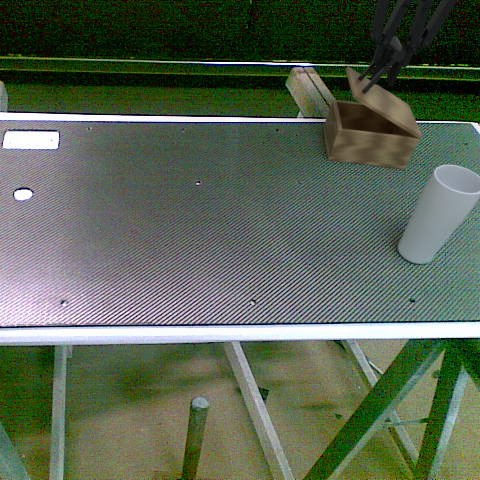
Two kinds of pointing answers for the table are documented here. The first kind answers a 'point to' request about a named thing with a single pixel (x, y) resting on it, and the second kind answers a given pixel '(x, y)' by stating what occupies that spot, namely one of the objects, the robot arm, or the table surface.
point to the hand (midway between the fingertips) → (381, 81)
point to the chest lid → (383, 93)
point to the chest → (366, 137)
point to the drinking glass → (439, 212)
